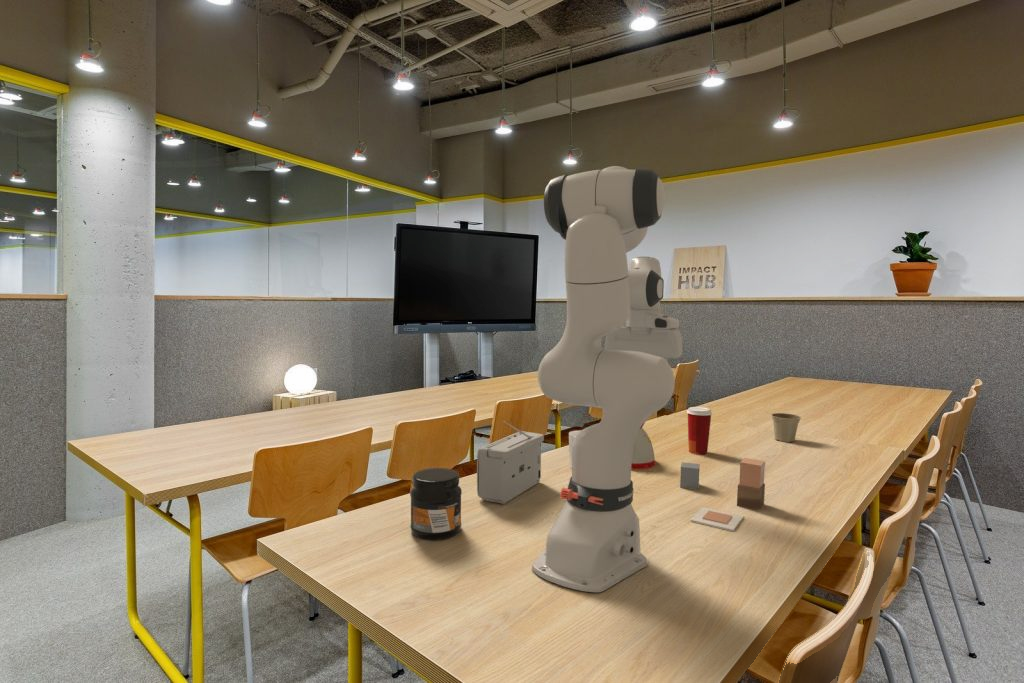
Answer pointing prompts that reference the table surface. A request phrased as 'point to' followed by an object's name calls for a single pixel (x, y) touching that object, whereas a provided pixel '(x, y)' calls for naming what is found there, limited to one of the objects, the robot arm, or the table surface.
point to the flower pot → (785, 426)
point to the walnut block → (750, 497)
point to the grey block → (689, 475)
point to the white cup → (571, 439)
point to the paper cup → (698, 429)
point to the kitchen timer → (642, 451)
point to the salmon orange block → (752, 473)
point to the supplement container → (435, 503)
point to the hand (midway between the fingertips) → (641, 373)
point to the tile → (717, 519)
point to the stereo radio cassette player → (509, 466)
